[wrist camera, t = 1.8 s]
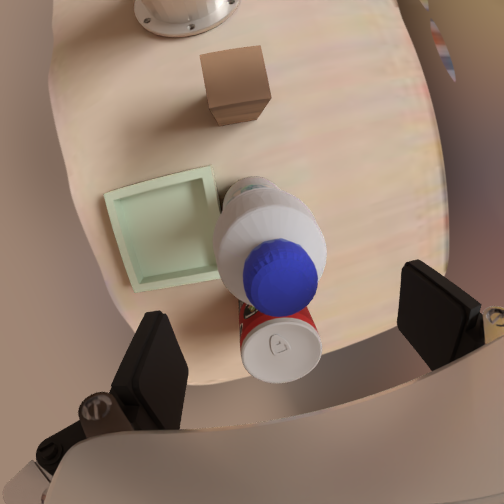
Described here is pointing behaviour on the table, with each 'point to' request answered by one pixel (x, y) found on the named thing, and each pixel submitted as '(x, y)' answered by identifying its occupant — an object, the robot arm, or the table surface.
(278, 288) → the bottle
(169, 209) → the tray
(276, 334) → the canned food
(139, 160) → the table surface
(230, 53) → the walnut post
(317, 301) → the table surface
